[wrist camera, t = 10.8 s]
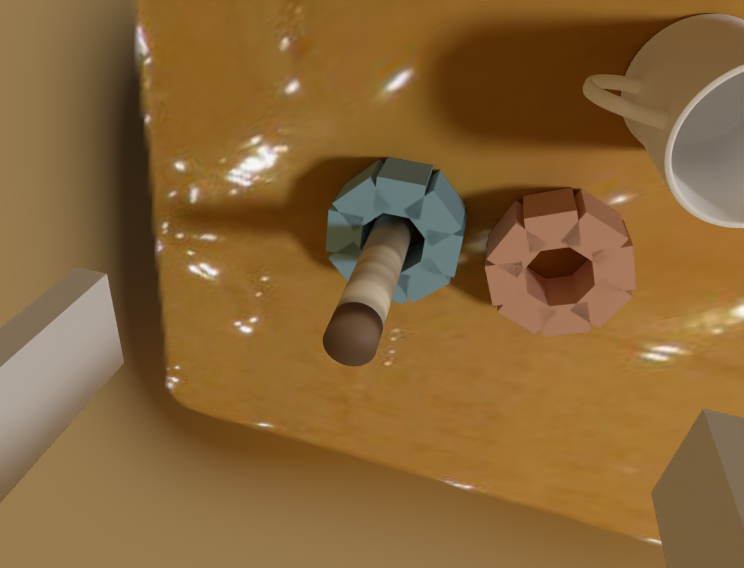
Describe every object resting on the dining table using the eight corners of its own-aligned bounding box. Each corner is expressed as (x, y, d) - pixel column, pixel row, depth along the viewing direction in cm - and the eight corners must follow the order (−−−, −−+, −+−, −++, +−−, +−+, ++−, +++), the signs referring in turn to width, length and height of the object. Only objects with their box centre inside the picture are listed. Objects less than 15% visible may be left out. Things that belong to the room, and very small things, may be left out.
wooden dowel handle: (380, 199, 44) (324, 317, 31) (418, 207, 44) (379, 329, 31) (375, 233, 46) (321, 359, 33) (412, 241, 46) (372, 371, 32)
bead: (346, 149, 43) (331, 168, 40) (476, 173, 42) (472, 194, 38) (335, 261, 48) (322, 286, 45) (451, 285, 47) (446, 312, 44)
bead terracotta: (479, 203, 43) (476, 226, 40) (620, 179, 40) (630, 201, 37) (501, 311, 47) (499, 340, 44) (629, 297, 44) (638, 327, 41)
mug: (549, 115, 39) (562, 180, 29) (610, -23, 34) (650, -3, 24) (719, 170, 38) (791, 256, 28) (804, 38, 34) (928, 85, 24)
